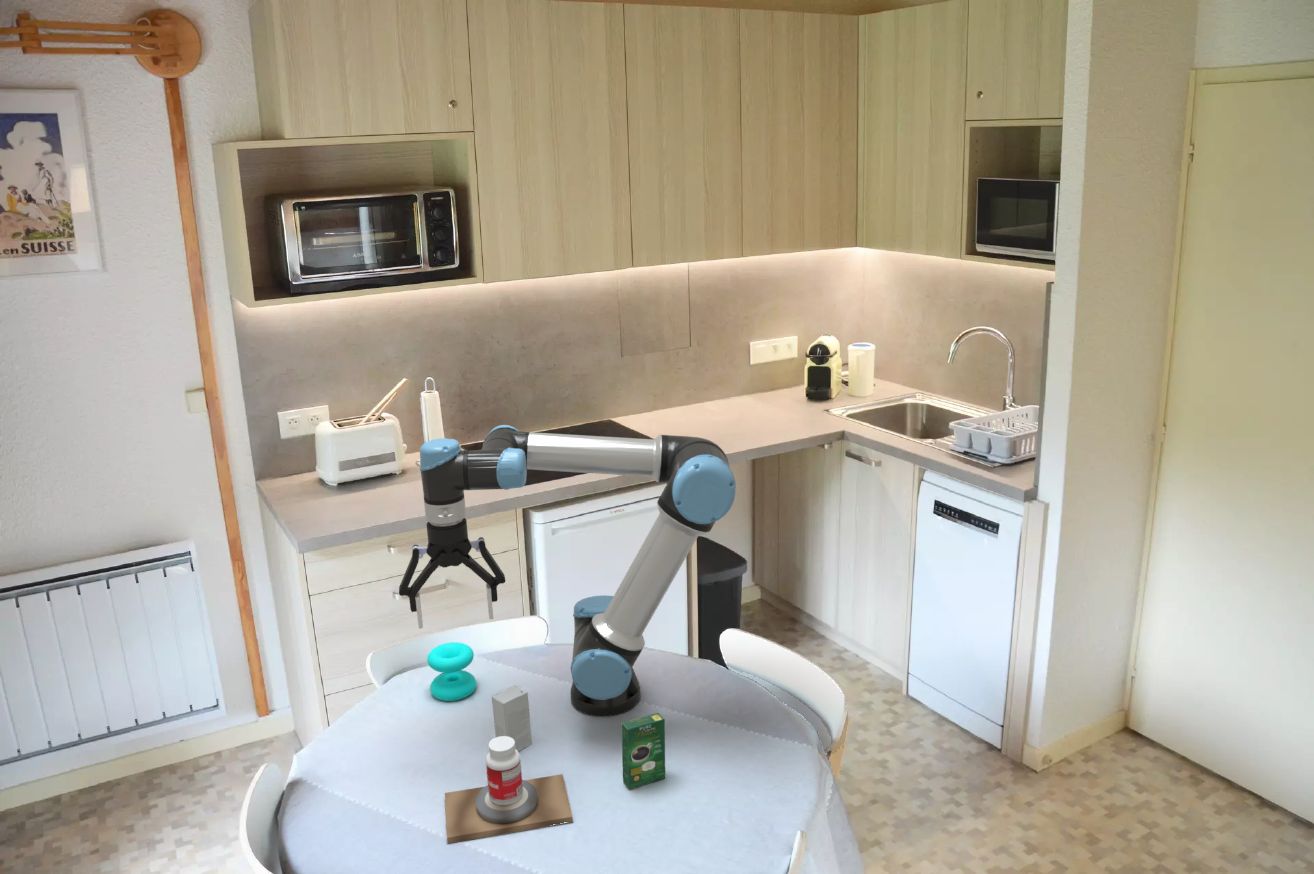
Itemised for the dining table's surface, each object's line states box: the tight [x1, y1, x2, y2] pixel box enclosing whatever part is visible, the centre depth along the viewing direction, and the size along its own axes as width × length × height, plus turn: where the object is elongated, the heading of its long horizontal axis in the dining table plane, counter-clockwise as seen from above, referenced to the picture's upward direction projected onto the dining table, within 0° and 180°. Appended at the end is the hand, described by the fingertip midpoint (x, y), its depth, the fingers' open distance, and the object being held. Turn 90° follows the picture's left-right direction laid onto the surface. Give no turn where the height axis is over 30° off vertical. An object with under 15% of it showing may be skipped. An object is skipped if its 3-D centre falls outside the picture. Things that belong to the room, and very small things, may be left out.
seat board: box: [444, 773, 574, 844], centre depth 188 cm, size 22×13×3 cm, turn 103°
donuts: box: [426, 642, 477, 702], centre depth 227 cm, size 10×10×10 cm
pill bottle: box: [485, 736, 523, 805], centre depth 186 cm, size 6×6×11 cm
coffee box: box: [621, 712, 666, 790], centre depth 194 cm, size 8×3×13 cm, turn 116°
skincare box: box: [491, 684, 533, 752], centre depth 206 cm, size 6×4×12 cm
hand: (456, 620), depth 203 cm, fingers open, 13 cm apart
